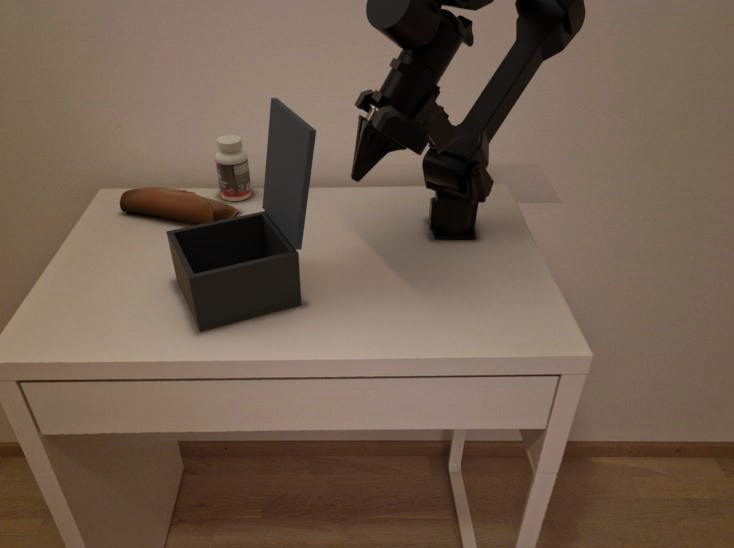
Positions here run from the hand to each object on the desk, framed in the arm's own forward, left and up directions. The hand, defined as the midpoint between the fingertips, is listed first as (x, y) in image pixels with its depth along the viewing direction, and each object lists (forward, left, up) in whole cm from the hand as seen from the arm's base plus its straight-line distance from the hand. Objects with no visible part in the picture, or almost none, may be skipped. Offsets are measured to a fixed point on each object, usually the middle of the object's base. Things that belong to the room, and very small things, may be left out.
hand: (354, 180), depth 77 cm
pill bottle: (+21, -22, -13) cm, 33 cm away
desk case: (+15, +8, -13) cm, 21 cm away
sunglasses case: (+29, -15, -13) cm, 35 cm away
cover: (+9, +5, +3) cm, 10 cm away
